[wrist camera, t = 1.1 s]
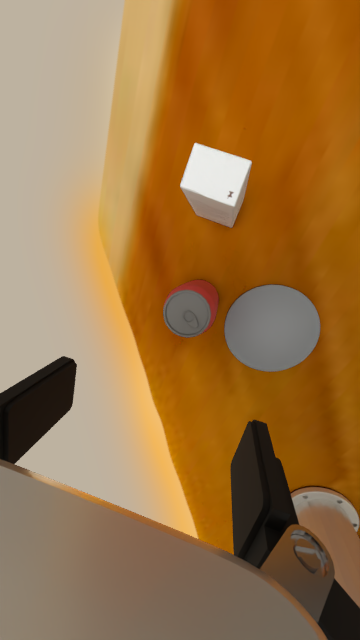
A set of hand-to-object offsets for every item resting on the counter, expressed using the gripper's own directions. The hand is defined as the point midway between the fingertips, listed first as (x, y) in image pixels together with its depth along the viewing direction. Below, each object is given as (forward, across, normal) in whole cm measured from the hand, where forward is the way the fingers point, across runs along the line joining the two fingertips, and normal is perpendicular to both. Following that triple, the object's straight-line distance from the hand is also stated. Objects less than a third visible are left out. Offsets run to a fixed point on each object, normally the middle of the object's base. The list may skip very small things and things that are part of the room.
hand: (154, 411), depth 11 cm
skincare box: (+27, +2, -15) cm, 31 cm away
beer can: (+27, +1, -1) cm, 27 cm away
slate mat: (+26, -11, 0) cm, 29 cm away
